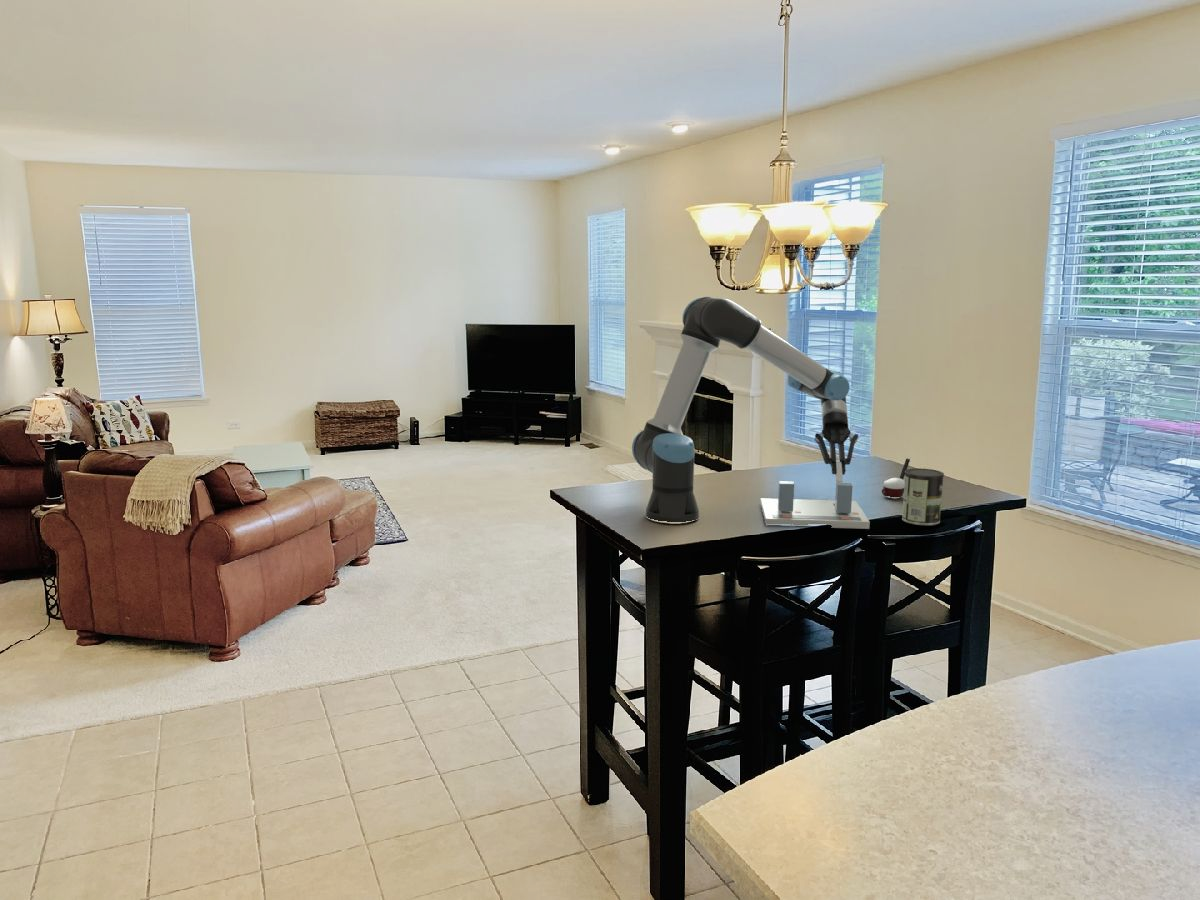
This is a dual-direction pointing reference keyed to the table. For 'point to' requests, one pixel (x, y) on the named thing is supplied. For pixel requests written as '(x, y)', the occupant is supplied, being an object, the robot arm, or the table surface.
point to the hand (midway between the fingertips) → (839, 483)
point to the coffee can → (922, 496)
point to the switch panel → (814, 514)
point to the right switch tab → (843, 497)
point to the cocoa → (895, 484)
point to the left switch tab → (785, 496)
